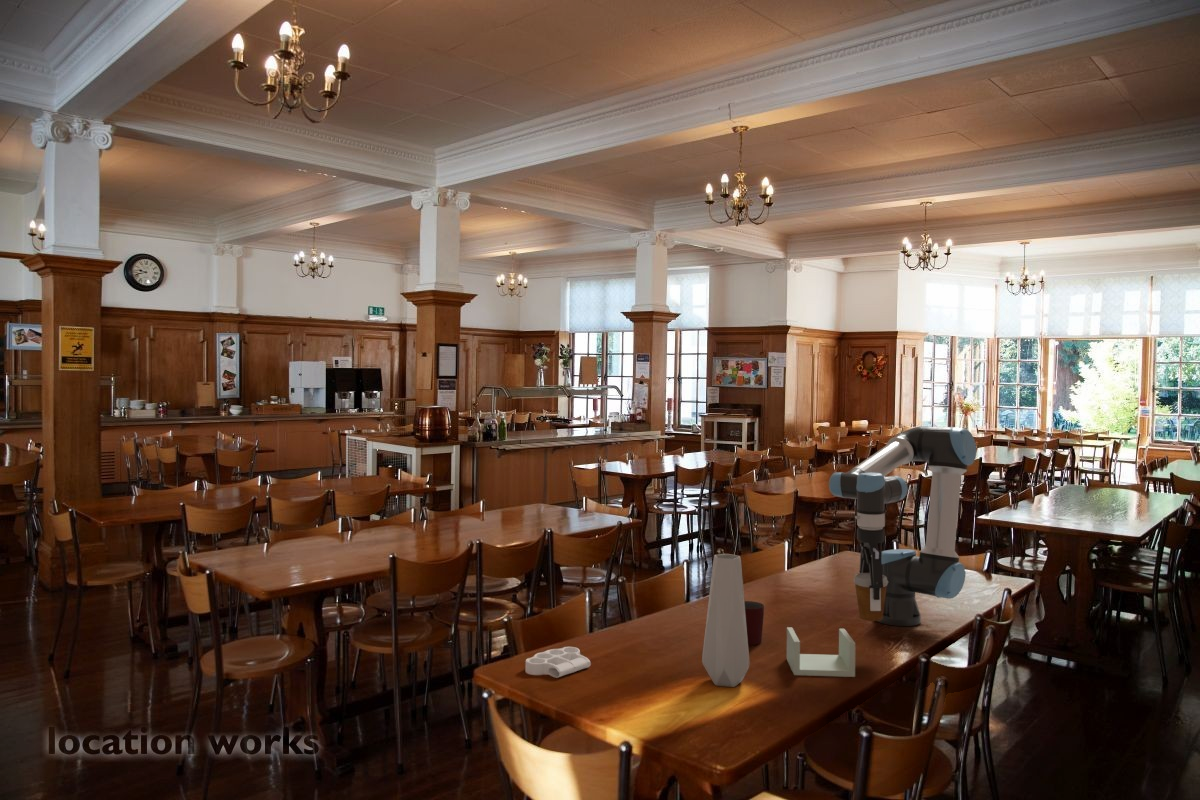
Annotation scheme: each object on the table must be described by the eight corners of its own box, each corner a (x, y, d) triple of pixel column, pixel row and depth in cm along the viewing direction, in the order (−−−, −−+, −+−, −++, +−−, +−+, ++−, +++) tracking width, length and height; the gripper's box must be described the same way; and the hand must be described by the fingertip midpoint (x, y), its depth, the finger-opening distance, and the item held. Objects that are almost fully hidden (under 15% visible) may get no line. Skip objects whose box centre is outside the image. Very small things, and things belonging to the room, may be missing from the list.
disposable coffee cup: (890, 623, 228) (890, 581, 228) (855, 622, 230) (855, 579, 230) (886, 613, 238) (885, 572, 237) (851, 612, 240) (851, 571, 239)
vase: (740, 694, 205) (740, 563, 204) (697, 685, 211) (698, 558, 210) (757, 679, 215) (758, 555, 214) (717, 671, 221) (717, 550, 221)
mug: (746, 650, 239) (746, 612, 239) (721, 643, 245) (722, 606, 245) (769, 641, 247) (769, 605, 247) (745, 634, 254) (745, 599, 253)
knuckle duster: (550, 683, 213) (514, 669, 223) (599, 667, 226) (562, 654, 236) (550, 671, 213) (514, 657, 223) (599, 654, 226) (562, 643, 236)
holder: (844, 660, 230) (844, 628, 230) (855, 676, 217) (855, 643, 217) (786, 658, 232) (786, 627, 231) (793, 675, 219) (794, 641, 218)
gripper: (848, 520, 244) (848, 594, 245) (866, 535, 222) (867, 616, 223) (874, 520, 244) (874, 595, 244) (895, 535, 222) (895, 617, 222)
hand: (871, 605), depth 234 cm, fingers closed on disposable coffee cup, 9 cm apart
